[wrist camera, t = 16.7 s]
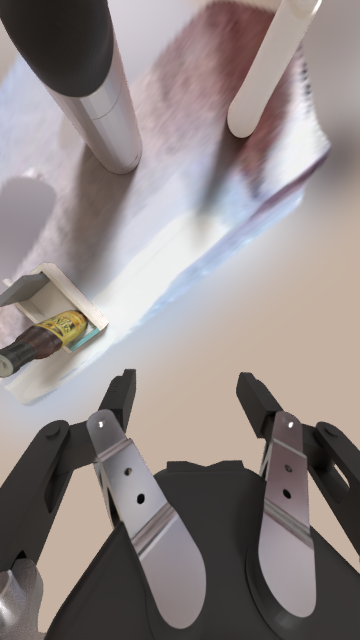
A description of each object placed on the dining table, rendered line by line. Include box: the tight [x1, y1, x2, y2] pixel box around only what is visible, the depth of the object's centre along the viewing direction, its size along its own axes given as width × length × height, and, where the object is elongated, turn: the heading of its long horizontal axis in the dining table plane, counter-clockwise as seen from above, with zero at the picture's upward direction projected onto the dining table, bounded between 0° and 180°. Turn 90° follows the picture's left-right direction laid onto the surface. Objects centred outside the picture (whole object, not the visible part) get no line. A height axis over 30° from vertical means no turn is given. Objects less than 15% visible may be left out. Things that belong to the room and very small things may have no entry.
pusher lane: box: [13, 263, 109, 354], centre depth 41 cm, size 18×12×4 cm, turn 36°
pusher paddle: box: [0, 273, 51, 307], centre depth 35 cm, size 3×9×8 cm, turn 126°
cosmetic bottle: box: [227, 0, 322, 138], centre depth 22 cm, size 6×6×22 cm
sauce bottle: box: [0, 310, 88, 378], centre depth 33 cm, size 7×6×20 cm
